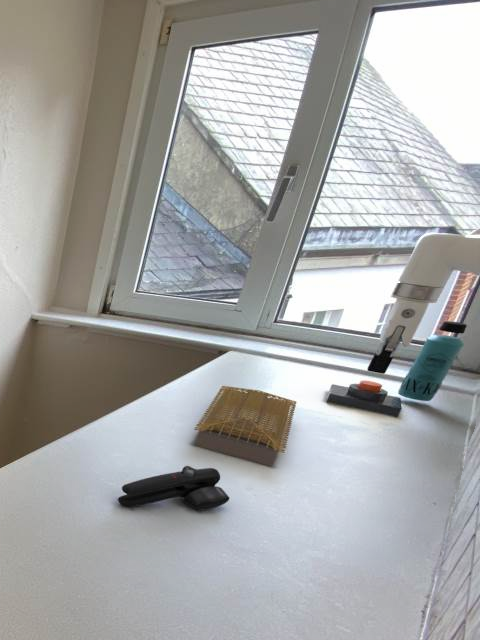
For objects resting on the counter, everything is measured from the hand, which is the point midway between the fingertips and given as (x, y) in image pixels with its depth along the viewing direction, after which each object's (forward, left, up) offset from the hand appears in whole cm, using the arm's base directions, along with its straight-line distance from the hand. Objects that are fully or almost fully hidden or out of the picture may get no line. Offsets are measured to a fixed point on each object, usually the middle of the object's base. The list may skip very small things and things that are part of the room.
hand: (375, 371), depth 129 cm
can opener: (+23, +86, -8) cm, 90 cm away
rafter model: (+18, +41, -8) cm, 46 cm away
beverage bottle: (-10, -12, -8) cm, 18 cm away
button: (0, 0, -5) cm, 5 cm away
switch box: (0, 0, -8) cm, 8 cm away
